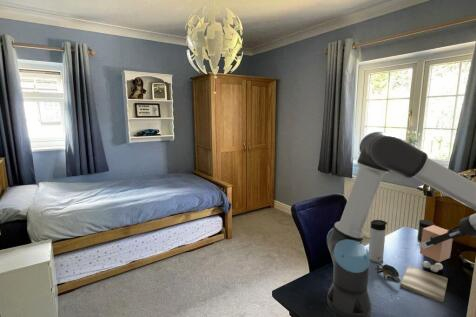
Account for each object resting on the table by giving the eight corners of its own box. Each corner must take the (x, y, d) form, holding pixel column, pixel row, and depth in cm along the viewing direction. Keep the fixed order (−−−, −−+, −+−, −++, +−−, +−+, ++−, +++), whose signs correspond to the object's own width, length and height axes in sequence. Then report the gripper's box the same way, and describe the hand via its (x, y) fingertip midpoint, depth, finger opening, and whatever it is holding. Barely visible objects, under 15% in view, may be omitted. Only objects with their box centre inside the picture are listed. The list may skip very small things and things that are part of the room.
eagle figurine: (374, 277, 111) (399, 281, 106) (374, 260, 114) (398, 263, 109) (378, 279, 117) (402, 283, 111) (377, 262, 119) (400, 265, 114)
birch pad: (443, 302, 98) (443, 299, 98) (400, 286, 107) (400, 283, 107) (447, 281, 109) (447, 278, 109) (408, 268, 119) (408, 265, 119)
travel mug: (382, 265, 122) (385, 225, 118) (366, 260, 126) (369, 221, 122) (384, 259, 127) (388, 220, 123) (369, 255, 130) (372, 217, 127)
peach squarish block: (449, 257, 115) (453, 232, 113) (439, 262, 112) (443, 236, 110) (430, 249, 122) (433, 225, 120) (419, 253, 119) (423, 228, 117)
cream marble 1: (429, 270, 117) (430, 264, 117) (421, 267, 119) (422, 261, 119) (430, 267, 119) (431, 261, 119) (422, 264, 121) (423, 258, 121)
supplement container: (430, 238, 145) (432, 221, 143) (433, 244, 139) (435, 225, 137) (416, 236, 148) (418, 219, 146) (418, 241, 142) (420, 223, 140)
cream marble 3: (442, 272, 116) (442, 266, 115) (433, 269, 118) (434, 263, 117) (442, 269, 118) (443, 263, 117) (434, 266, 120) (435, 260, 119)
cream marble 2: (437, 274, 114) (438, 268, 114) (429, 271, 116) (430, 265, 116) (438, 271, 116) (439, 265, 116) (430, 268, 118) (431, 262, 118)
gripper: (469, 239, 96) (418, 257, 113) (497, 228, 105) (446, 246, 122) (455, 220, 100) (407, 241, 117) (483, 211, 108) (435, 231, 126)
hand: (427, 243), depth 119 cm, fingers closed on peach squarish block, 8 cm apart
